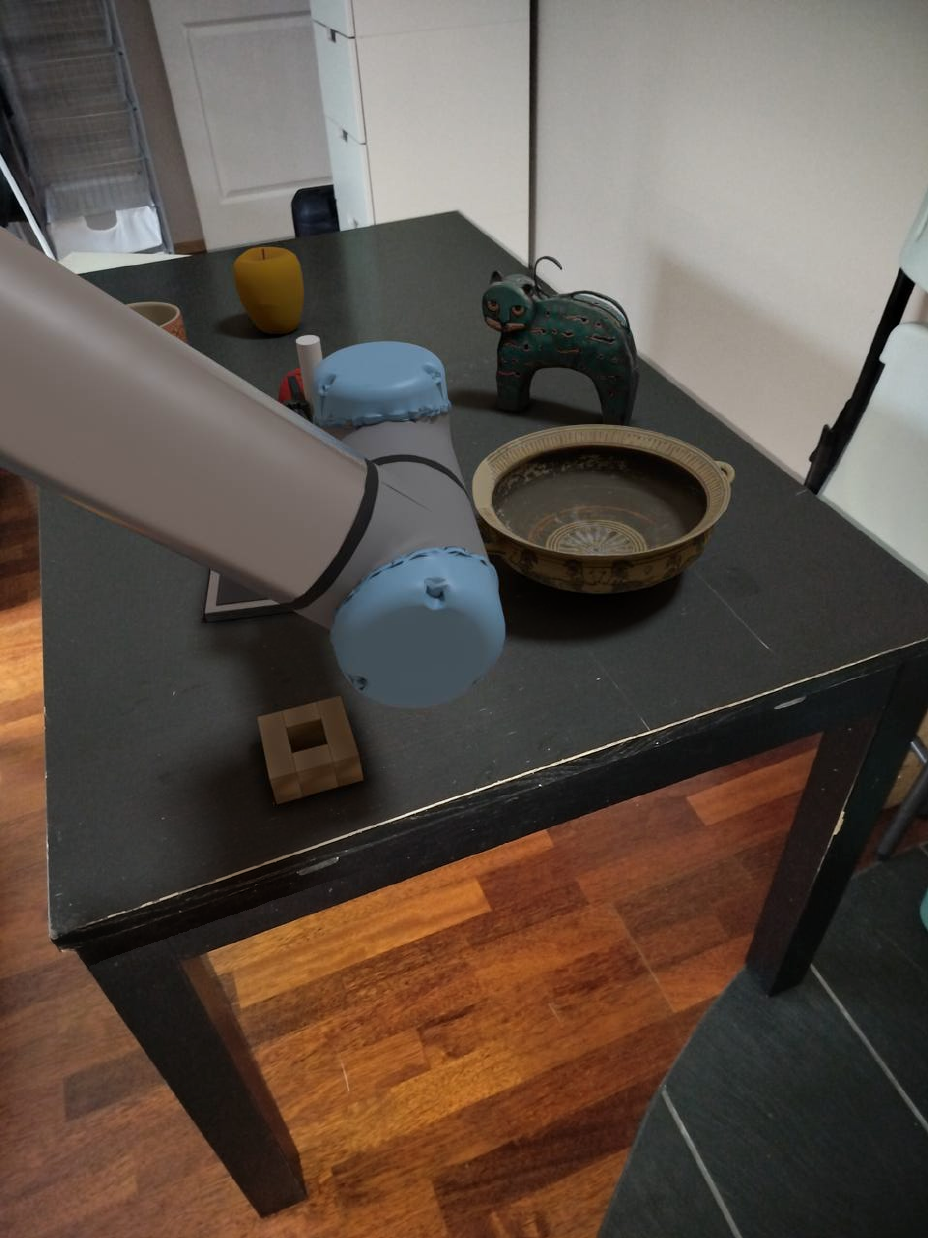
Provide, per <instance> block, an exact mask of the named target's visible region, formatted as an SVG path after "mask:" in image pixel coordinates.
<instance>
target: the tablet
mask: <svg viewBox="0 0 928 1238" xmlns="http://www.w3.org/2000/svg"><path fill="white" fill-rule="evenodd" d="M209 573H210V574H209V581H208V586H207V594H206V601H205V608H204V616H205V618H206V619H205V620H206V622H207V623H215V622H222V621H231V620H238V619H246V618H254V617H261V616H270V615H277V614H278V615H279V614H286V613H293V612H294V611H293V610H291V609H289V608H287V607H285V606H283V605H281V604H279V603H277V602H275V601H273V600H271V599H269V598H267V597H265V596H263V595H261V594H258V593H256V592H254V591H252V590H250V589H248V588H246V587H244V586H242V585H240V584H238V583H236V582H234V581H232V580H230V579H228V578H226V577H224V576H222V575H220V574H218V573H216V572H214V571H212V570H210V572H209ZM294 613H295V612H294Z"/></svg>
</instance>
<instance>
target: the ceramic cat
mask: <svg viewBox="0 0 928 1238" xmlns="http://www.w3.org/2000/svg"><path fill="white" fill-rule="evenodd" d="M543 260H547V261H550V262H551V263H553V264H554V265H555V266H557V268H559V270H560V271H562V270H563V267H562V264H561V263H560V262H559V261H558V260H557V259H556V258H555V257H553V256H549V255H544V256H540V257H539V258H538V259H536V261H535V263H534V266H533V267H534V268H533V279H532V278H531V277H529V276H527V275H525V274H522V273H513V274H510V275H507V276H504V275H503V274H502V273H501V271H498V270H496V269H495V270H493V272H492V273H491V275H490V276H491V277H490V281H489V286H488V287H487V289H486V290H485V291H484V293H483V295H482V298H481V310H482V316H483V319H484V322H485V324H486V325H487V326H488V327H489V328H491V329H493V330H495V331H496V332H499V333H500V336H499V340H498V343H497V347H496V373H495V382H496V388H497V389H496V391H497V410H501V411H506V412H510V413H519V412H521V411H522V410H524V409H525V407H526V406H527V405H528V404H530V400H531V385H532V380H533V378H534V376H535V374H536V373H537V372H538V371H540V370H542V369H543V370H544V369H566V370H567V369H568V370H572V371H575V372H578V373H581V374H582V375H584V376H586V377H588V378H589V379H590V380H591V381H592V383H593V385H594V388H595V390H596V393H597V396H598V399H599V403H600V408H601V413H602V425H617V426H628V425H629V424H630V423H631V421H632V417H633V411H634V406H635V402H636V397H637V394H638V393H637V392H638V388H639V383H640V371H639V367H638V366H639V365H638V351H637V345H636V341H635V337H634V333H633V331H632V329H631V324H630V320H629V318H628V315H627V313H626V311H625V310H624V307H622V305H621V304H620V303H619V302H618V301H617V300H615V298H613V297H610V296H608V295H606V294H603V293H600V292H597V291H594V290H585V289H583V290H574V291H572V292H567V293H566V292H565V293H557V294H550V293H549V292H547V291H546V290H543V288H542V287H541V286H540V285H539V284H538V277H537V267H538V264H539V263H540V262H541V261H543ZM589 295H590V296H589ZM592 296H594V297H592ZM595 297H597V298H595ZM600 299H602V300H605V301H607V302H609V303H611V304H609V303H607V302H605V301H602V300H600ZM612 305H613V306H614V307H615V308H616V309H615V308H614V307H613V306H612ZM617 310H618V311H617Z"/></svg>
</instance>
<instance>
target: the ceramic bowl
mask: <svg viewBox="0 0 928 1238" xmlns="http://www.w3.org/2000/svg"><path fill="white" fill-rule="evenodd" d="M735 479H736V472H735V469H734V468H733V467H732V465H730V464H729V463H728V462H725V461H719V460H714V459H713V458H712V457H711V456H710V455H709V454H707V453H706V452H704V451H703V450H701V449H700V448H698V447H696V446H694V445H692V444H690V443H688V442H685V441H683V440H681V439H679V438H675V437H674V436H670V435H665V434H664V433H661V432H657V431H653V430H648V429H644V428H639V427H633V426H628V425H627V426H617V425H603V423H602V424H601V423H599V424H595V423H592V424H591V423H590V424H589V423H588V424H576V425H575V424H574V425H564V426H557V427H553V428H552V427H551V428H547V429H543V430H538V431H535V432H532V433H528V434H526V435H521V436H519V437H517V438H515V439H512V440H510V441H508V442H506V443H504V444H503V445H501V446H500V447H498V448H496V449H495V450H494V451H493V452H491V453H489V454H488V455H487V456H486V457H485V458H484V459H483V460H482V461H481V462H480V463H479V465H478V466H477V467H476V470H475V472H474V474H473V477H472V481H471V494H472V501H473V505H474V508H475V511H476V512H477V513H478V514H479V516H480V517H481V518H479V519H475V520H476V523H477V526H478V529H479V531H480V532H483V533H485V534H486V536H487V539H488V541H489V542H483V543H484V546H485V549H486V552H487V555H497V556H499V557H500V558H501V559H502V560H503V561H504V562H505V563H506V564H507V565H508V566H509V567H511V568H512V569H513V570H515V571H516V572H518V573H519V574H521V575H523V576H525V577H527V578H529V579H531V580H532V581H535V582H537V583H540V584H542V585H544V586H548V587H551V588H555V589H558V590H562V591H568V592H573V593H579V594H580V593H581V594H596V595H597V594H599V595H600V594H601V595H607V594H618V593H627V592H633V591H638V590H641V589H646V588H650V587H653V586H656V585H658V584H660V583H664V582H665V581H667V580H670V579H672V578H673V577H675V576H677V575H679V574H680V573H682V572H683V571H685V570H687V568H689V567H690V566H691V565H693V563H695V561H697V560H698V558H699V557H700V556H701V555H702V554H703V552H704V551H705V549H706V548H707V547H708V545H709V543H710V540H711V537H712V534H713V533H714V532H713V531H714V525H715V524H716V523H717V522H718V521H719V520H720V519H721V517H722V516H723V514H724V513H725V511H726V510H727V509H728V506H729V503H730V501H731V495H732V494H731V493H732V488H731V485H733V483H734V481H735Z"/></svg>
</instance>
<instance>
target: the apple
mask: <svg viewBox="0 0 928 1238" xmlns="http://www.w3.org/2000/svg"><path fill="white" fill-rule="evenodd" d="M232 276H233V281H234V286H235V290H236V293H237V295H238V298H239V300H240V304H241V305H242V306H243V309H244V310H245V312H246V314H247V315H248V317H249V318H250V319H251V320H252V322H253V323H254V325H255V326H256V327H257V328H258V329H259V330H260V331H261V332H263V333H265V334H269V335H287V334H290V333H292V332H294V331H296V329H298V327H299V325H300V322H301V318H302V314H303V309H304V303H305V288H304V287H305V286H304V279H303V272H302V268H301V264H300V261H299V259H298V257H297V256H296V254H295V253H294V252H292V251H290V250H289V249H287V248H284V247H278V246H258V247H252V248H249V249H247V250H245V251H244V252H242V253H241V254H240V255H239V256H238V257H237V258H236V259H235V261H234V262H233V265H232Z"/></svg>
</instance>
